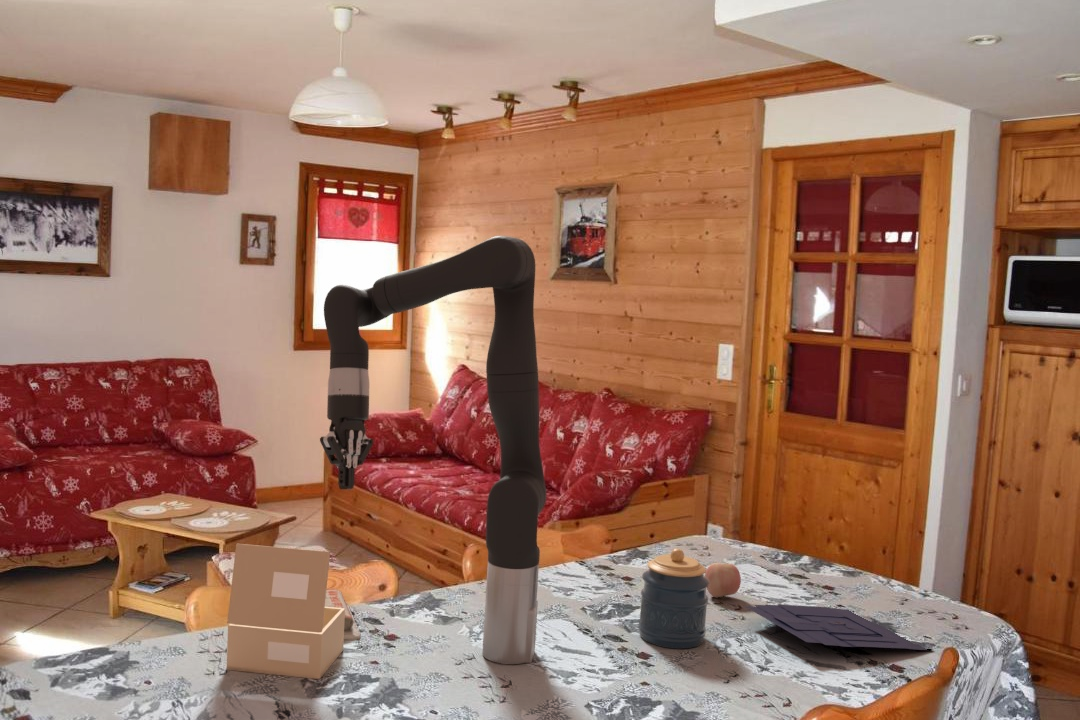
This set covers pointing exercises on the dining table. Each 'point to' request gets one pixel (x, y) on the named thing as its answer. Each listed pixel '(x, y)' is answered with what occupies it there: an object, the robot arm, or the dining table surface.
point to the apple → (722, 579)
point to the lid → (278, 587)
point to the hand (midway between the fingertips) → (346, 489)
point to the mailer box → (287, 647)
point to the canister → (674, 601)
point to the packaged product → (337, 601)
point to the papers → (831, 626)
